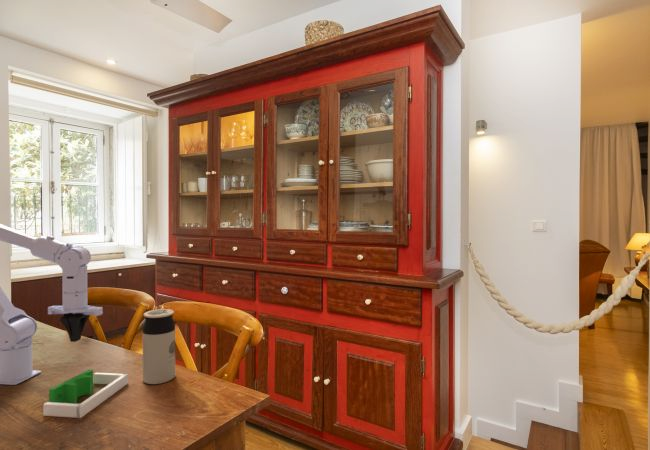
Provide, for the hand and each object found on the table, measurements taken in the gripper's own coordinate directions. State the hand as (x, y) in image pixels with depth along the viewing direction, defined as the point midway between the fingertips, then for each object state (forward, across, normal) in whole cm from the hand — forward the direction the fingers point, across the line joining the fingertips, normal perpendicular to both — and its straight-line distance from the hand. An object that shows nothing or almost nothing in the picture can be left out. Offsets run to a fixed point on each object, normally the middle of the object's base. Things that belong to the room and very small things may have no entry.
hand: (75, 340), depth 102 cm
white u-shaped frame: (+9, +13, -12) cm, 20 cm away
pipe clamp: (+10, +10, -12) cm, 18 cm away
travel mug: (+10, +24, 0) cm, 26 cm away
